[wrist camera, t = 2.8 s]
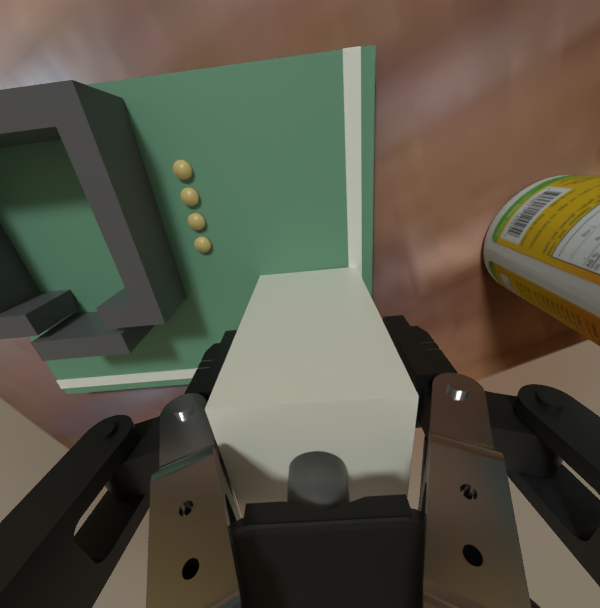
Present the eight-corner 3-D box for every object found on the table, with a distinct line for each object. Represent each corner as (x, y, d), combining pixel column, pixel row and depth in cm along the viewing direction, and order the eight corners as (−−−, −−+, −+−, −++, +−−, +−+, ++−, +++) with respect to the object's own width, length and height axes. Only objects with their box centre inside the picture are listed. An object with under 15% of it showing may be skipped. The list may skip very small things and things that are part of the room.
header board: (368, 55, 10) (375, 43, 9) (367, 358, 17) (371, 370, 16) (-86, 116, 11) (-122, 112, 10) (78, 382, 17) (65, 395, 17)
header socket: (172, 91, 10) (135, 71, 8) (230, 316, 14) (217, 345, 12) (-84, 125, 10) (-189, 115, 8) (45, 333, 15) (0, 364, 12)
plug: (356, 266, 13) (453, 467, 4) (357, 361, 15) (421, 609, 7) (260, 275, 13) (175, 480, 5) (276, 367, 16) (241, 611, 7)
